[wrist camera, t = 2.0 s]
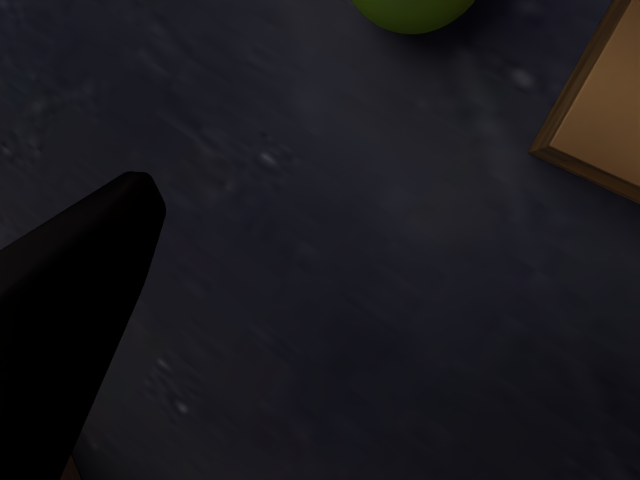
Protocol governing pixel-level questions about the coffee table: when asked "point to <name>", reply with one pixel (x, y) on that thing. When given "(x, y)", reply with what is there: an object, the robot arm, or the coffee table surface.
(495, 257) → the coffee table surface
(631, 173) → the tan rectangular block
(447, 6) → the snail figurine
